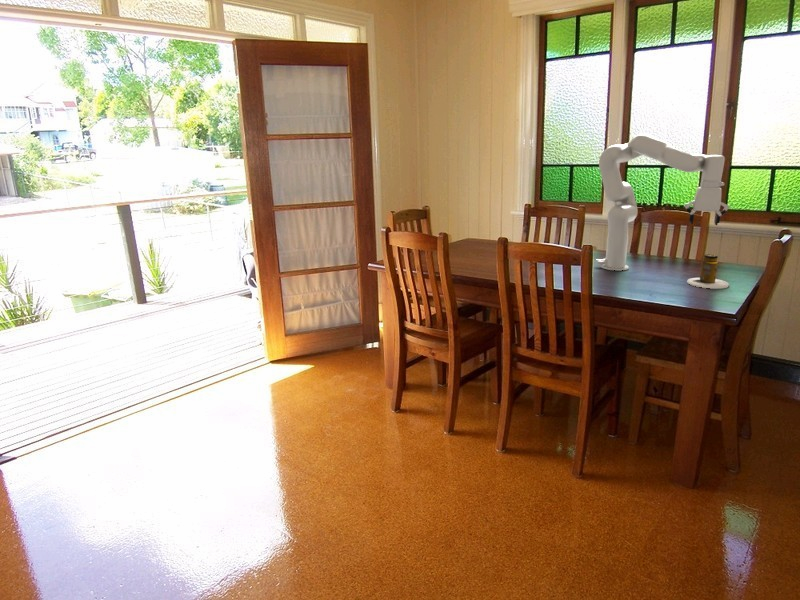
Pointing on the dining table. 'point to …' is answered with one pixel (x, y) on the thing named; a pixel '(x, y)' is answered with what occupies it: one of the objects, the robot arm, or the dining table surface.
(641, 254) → the dining table surface
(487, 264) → the dining table surface
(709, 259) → the condiment
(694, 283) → the plate
